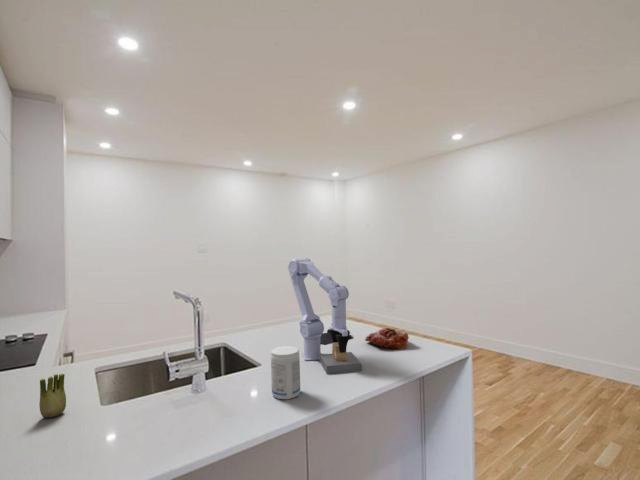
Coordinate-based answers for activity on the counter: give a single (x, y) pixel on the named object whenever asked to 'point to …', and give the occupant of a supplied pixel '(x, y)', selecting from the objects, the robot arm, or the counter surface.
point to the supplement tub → (285, 372)
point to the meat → (389, 338)
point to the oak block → (338, 353)
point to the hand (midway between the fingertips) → (339, 349)
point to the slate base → (340, 363)
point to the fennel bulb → (52, 396)
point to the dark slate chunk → (329, 338)
